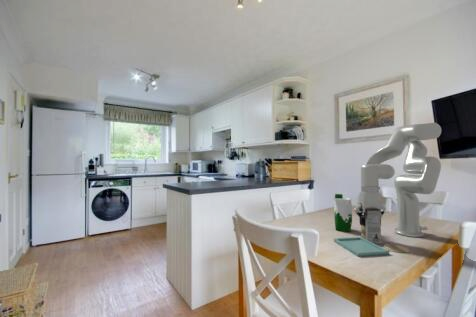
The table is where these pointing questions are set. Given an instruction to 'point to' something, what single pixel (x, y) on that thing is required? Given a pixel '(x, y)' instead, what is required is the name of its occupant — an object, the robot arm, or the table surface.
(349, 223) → the milk carton
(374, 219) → the coffee box
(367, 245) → the tray
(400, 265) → the table surface
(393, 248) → the gold metallic coaster
